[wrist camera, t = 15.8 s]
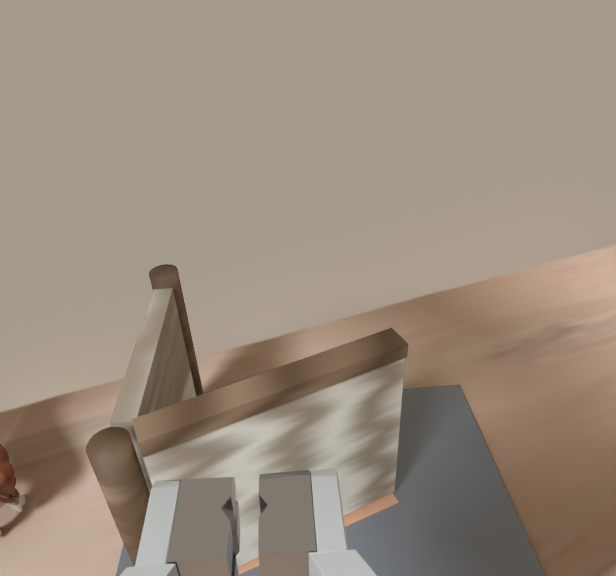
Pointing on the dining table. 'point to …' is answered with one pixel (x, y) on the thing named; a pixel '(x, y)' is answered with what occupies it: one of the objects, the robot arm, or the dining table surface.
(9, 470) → the bull figurine
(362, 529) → the board
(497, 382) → the dining table surface
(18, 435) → the dining table surface
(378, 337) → the fence panel
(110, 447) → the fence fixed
